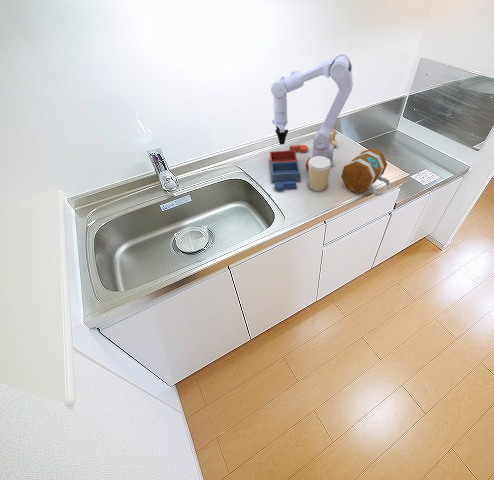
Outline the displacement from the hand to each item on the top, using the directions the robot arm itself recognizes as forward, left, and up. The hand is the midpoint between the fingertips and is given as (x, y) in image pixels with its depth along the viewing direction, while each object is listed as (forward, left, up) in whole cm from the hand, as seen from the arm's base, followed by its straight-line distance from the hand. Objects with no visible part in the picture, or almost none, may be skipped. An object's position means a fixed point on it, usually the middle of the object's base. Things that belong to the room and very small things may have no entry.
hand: (281, 140), depth 129 cm
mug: (-30, +33, -4) cm, 44 cm away
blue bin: (0, +16, -9) cm, 19 cm away
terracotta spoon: (-9, -5, -9) cm, 14 cm away
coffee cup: (-14, +25, -9) cm, 30 cm away
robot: (-24, -9, -9) cm, 28 cm away
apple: (-14, +15, -9) cm, 22 cm away
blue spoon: (0, +25, -9) cm, 27 cm away
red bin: (0, +7, -9) cm, 11 cm away
